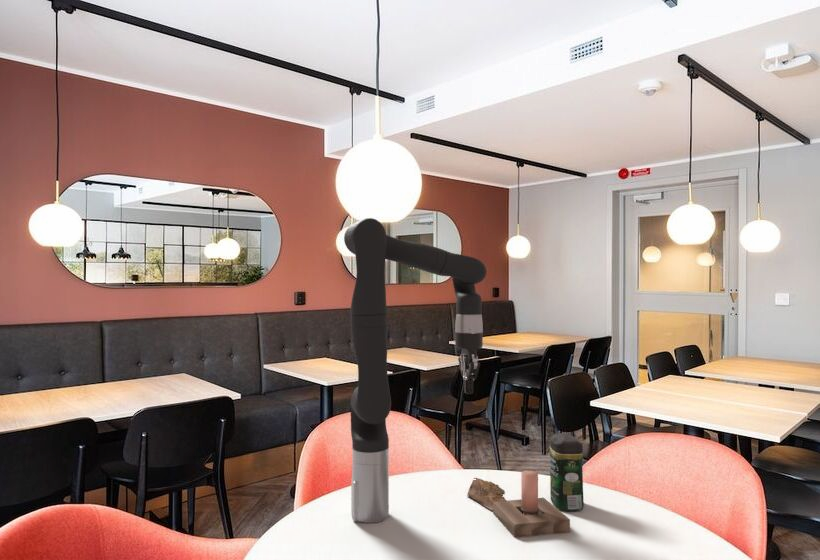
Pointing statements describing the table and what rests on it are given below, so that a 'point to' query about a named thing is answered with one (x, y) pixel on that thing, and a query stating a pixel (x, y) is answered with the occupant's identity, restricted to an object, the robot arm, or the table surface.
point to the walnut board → (531, 518)
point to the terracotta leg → (529, 492)
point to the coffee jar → (566, 472)
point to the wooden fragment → (485, 492)
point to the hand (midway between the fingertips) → (468, 393)
